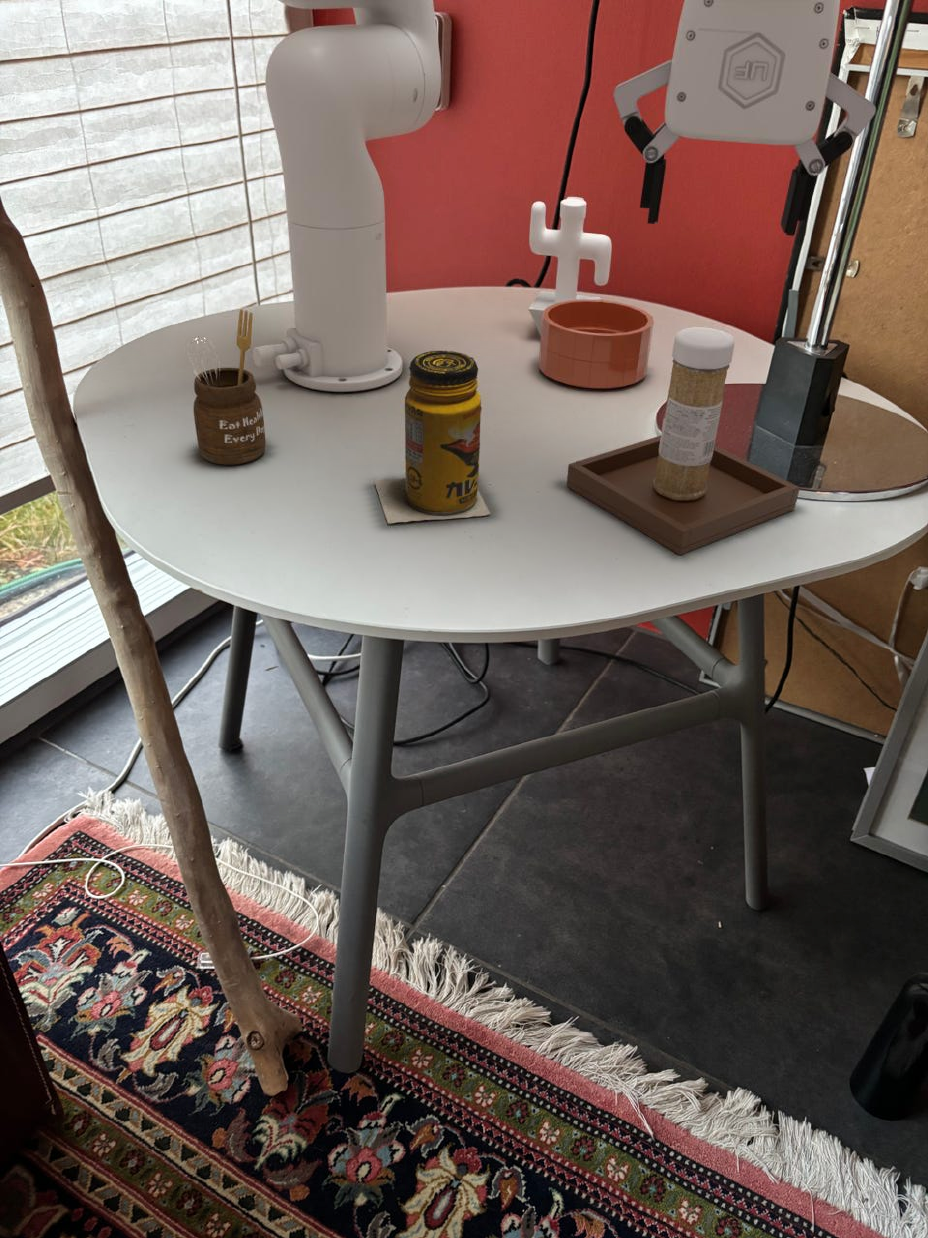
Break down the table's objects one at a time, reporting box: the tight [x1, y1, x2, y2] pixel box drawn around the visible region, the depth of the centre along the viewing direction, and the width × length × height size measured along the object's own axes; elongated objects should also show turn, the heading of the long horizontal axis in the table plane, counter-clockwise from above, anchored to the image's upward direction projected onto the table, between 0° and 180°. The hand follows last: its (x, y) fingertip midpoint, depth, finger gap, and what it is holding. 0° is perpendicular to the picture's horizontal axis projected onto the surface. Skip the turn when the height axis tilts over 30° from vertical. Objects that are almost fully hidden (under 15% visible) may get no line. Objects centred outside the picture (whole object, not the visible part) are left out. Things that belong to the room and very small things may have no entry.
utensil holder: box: [186, 308, 266, 466], centre depth 85 cm, size 6×6×12 cm
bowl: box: [538, 299, 655, 390], centre depth 105 cm, size 12×12×6 cm
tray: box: [566, 435, 801, 556], centre depth 82 cm, size 14×14×2 cm
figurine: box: [528, 196, 613, 337], centre depth 112 cm, size 7×9×15 cm
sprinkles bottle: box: [653, 326, 735, 501], centre depth 79 cm, size 5×5×13 cm
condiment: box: [373, 350, 492, 524], centre depth 78 cm, size 7×8×12 cm
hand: (719, 224), depth 71 cm, fingers open, 9 cm apart
